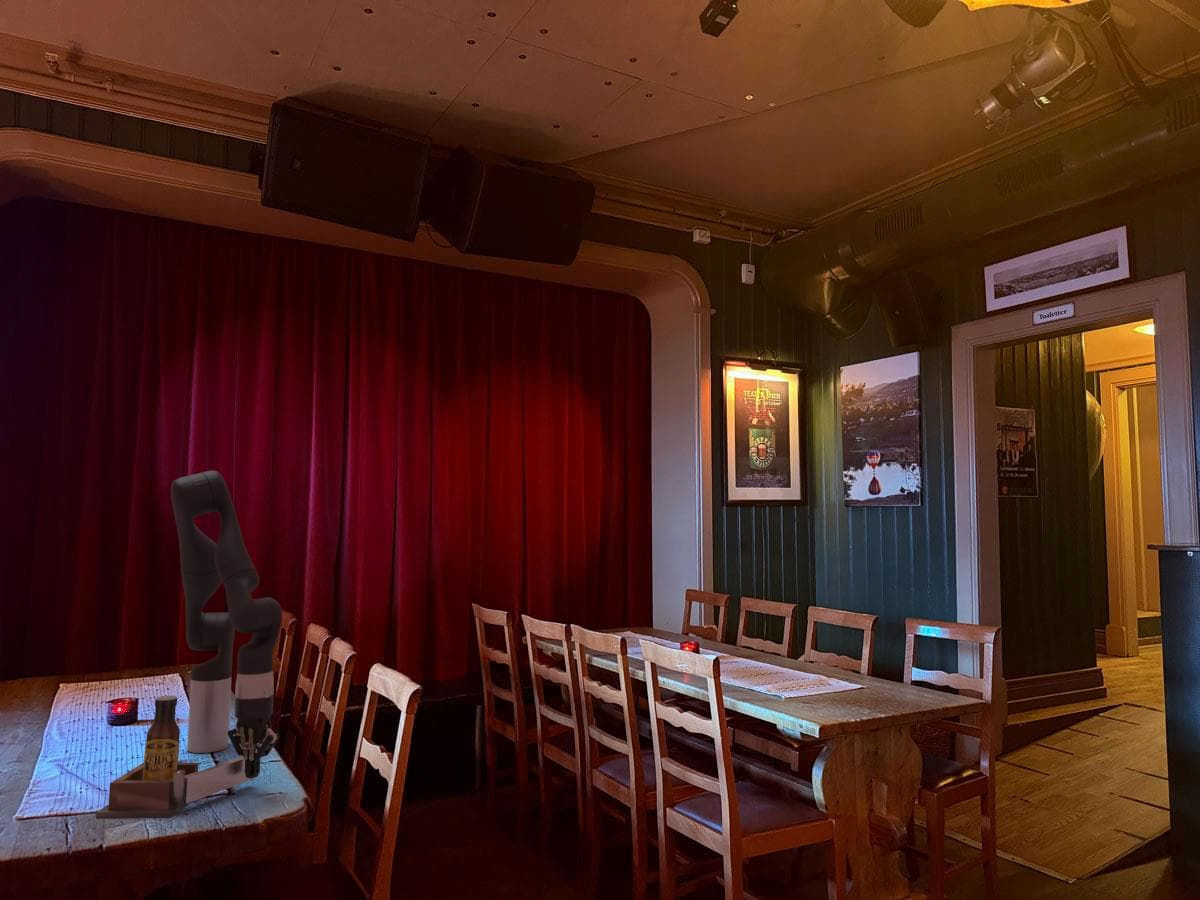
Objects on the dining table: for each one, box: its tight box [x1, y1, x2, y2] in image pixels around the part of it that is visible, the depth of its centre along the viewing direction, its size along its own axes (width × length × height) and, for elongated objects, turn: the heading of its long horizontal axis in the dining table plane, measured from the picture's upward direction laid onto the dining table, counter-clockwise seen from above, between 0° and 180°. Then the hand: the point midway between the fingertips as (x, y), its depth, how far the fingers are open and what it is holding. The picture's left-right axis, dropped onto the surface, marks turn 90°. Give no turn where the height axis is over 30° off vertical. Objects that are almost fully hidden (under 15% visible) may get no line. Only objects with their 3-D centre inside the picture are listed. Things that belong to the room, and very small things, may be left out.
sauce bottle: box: [142, 695, 181, 793], centre depth 167 cm, size 6×6×20 cm
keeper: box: [172, 756, 254, 807], centre depth 169 cm, size 19×2×6 cm, turn 156°
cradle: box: [95, 762, 199, 819], centre depth 166 cm, size 16×14×6 cm
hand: (252, 777), depth 173 cm, fingers closed
